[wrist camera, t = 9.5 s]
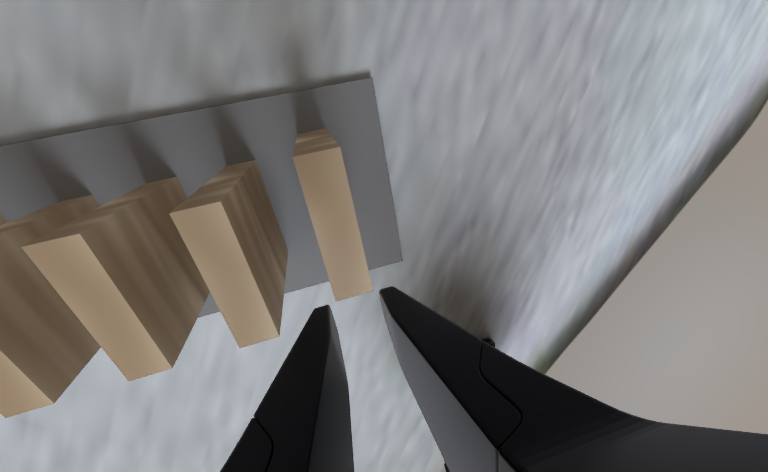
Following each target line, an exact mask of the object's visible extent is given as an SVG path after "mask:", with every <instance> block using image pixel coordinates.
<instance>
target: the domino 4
mask: <svg viewBox="0 0 768 472" xmlns="http://www.w3.org/2000/svg"><path fill="white" fill-rule="evenodd" d="M292 157H293V161H294V164H295V167H296V171H297V174H298V177H299V181H300V184H301V187H302V191H303V194H304V197H305V201H306V204H307V207H308V211H309V214H310V217H311V221H312V224H313V227H314V231H315V234H316V237H317V241H318V244H319V247H320V251H321V254H322V257H323V261H324V264H325V267H326V271H327V274H328V277H329V280H330V284H331V287H332V290H333V294H334V297H335V300H336V301H340V300H343V299H347V298H350V297H354V296H357V295H361V294H364V293H368V292H371V291H373V289H372V284H371V280H370V275H369V271H368V267H367V262H366V258H365V253H364V249H363V245H362V240H361V236H360V231H359V227H358V223H357V218H356V214H355V209H354V205H353V201H352V196H351V192H350V188H349V183H348V179H347V174H346V170H345V166H344V161H343V157H342V152H341V148H340V146H339V145H338V143H337V142H336V141H335V140H334V138H333V137H332V136H331V135H330V134H329V132H328V131H327V130H326V129H320V130H315V131H310V132H305V133H300V134H297V138H296V143H295V147H294V152H293V156H292Z"/></svg>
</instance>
